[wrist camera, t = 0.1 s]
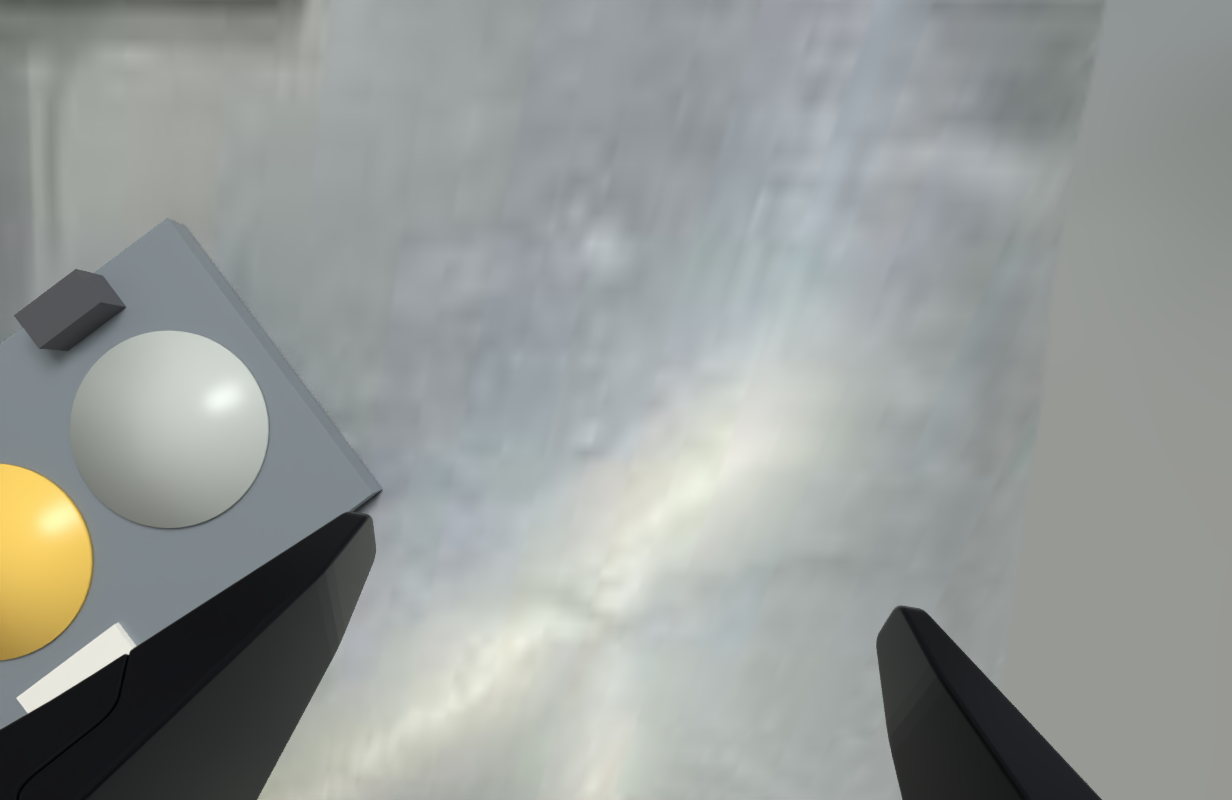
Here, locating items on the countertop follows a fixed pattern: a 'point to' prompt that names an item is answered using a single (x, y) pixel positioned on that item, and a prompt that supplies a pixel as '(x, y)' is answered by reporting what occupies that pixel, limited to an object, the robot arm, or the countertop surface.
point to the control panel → (146, 461)
